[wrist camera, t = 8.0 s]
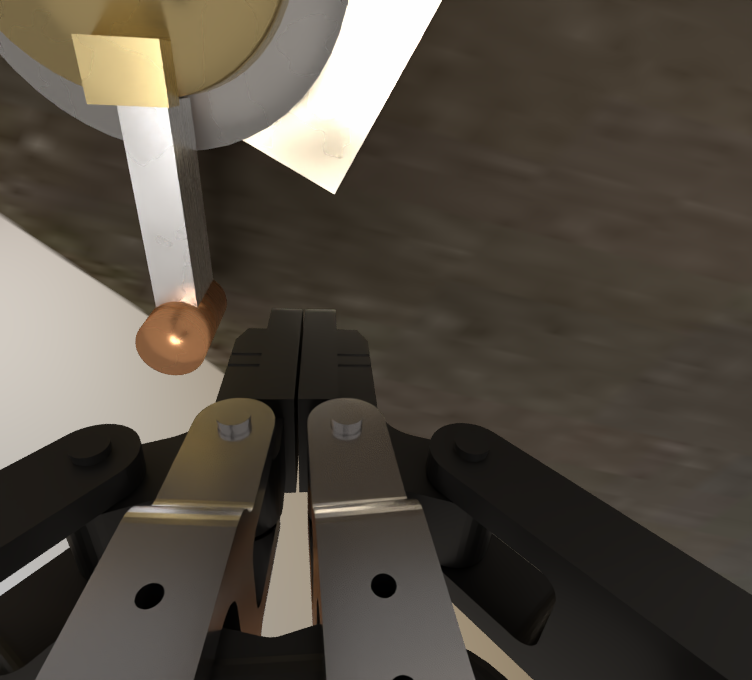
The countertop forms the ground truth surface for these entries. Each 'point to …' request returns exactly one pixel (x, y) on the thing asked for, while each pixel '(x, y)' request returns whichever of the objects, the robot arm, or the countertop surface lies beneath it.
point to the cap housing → (287, 85)
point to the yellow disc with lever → (156, 129)
